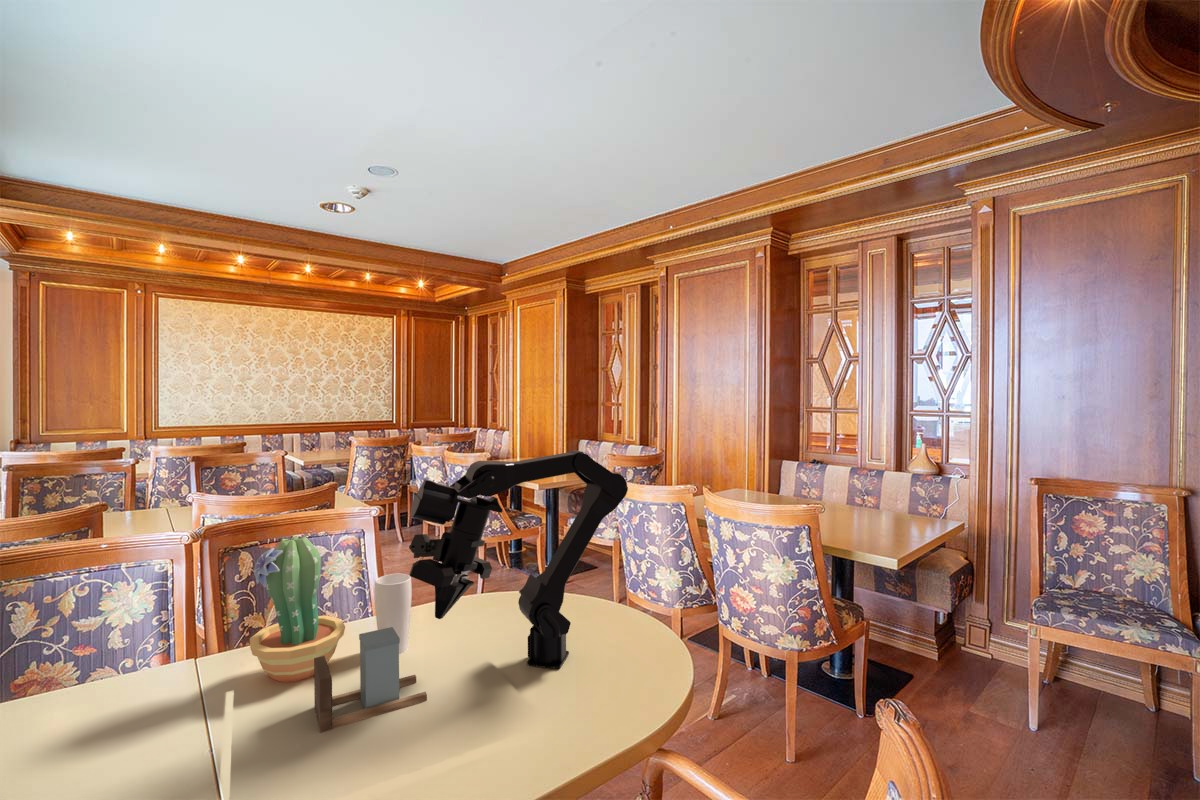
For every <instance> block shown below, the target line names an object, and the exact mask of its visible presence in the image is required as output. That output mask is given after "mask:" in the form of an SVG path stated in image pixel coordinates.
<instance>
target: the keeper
mask: <svg viewBox="0 0 1200 800" xmlns="http://www.w3.org/2000/svg"><path fill="white" fill-rule="evenodd" d="M358 637H359V638H358V640H359V662H360V663H359V664H360V665H359V666H360V667H359V668H360V670H359V671H360V672H359V675H360V677H359V678H360V681H359V684H360V688H359V689H361V698H360V701H361V703H362V705H363V709H366V708H369V707H373V706H376V705H380V704H383V703H387V702H390V701H394V700H397V699H400V687H399V679H400V654H399V643H400V638H399V636H398V635H397V633H396V632H395V630H394V629H393V627H390V628H385V629H380V630H371V631H367V632H363V633H359V634H358Z"/></svg>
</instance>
